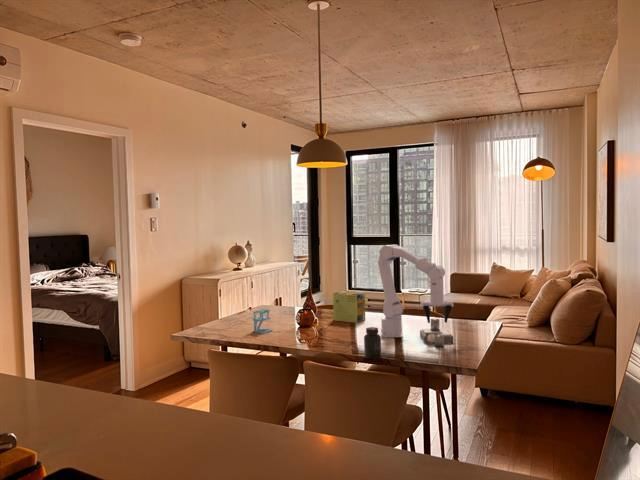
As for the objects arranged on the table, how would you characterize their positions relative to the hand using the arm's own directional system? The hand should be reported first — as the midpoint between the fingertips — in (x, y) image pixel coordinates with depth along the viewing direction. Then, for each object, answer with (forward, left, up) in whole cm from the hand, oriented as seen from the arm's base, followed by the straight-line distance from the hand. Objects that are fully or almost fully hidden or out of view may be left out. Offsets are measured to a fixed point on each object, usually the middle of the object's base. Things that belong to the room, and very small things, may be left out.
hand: (437, 322), depth 222 cm
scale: (0, +4, -9) cm, 10 cm away
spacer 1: (0, +7, -5) cm, 9 cm away
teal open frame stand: (-85, +23, -9) cm, 88 cm away
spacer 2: (-1, -8, -9) cm, 12 cm away
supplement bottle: (-31, -25, -9) cm, 41 cm away
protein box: (-40, +52, -9) cm, 66 cm away
